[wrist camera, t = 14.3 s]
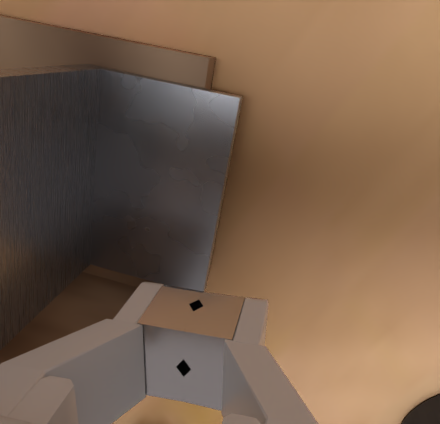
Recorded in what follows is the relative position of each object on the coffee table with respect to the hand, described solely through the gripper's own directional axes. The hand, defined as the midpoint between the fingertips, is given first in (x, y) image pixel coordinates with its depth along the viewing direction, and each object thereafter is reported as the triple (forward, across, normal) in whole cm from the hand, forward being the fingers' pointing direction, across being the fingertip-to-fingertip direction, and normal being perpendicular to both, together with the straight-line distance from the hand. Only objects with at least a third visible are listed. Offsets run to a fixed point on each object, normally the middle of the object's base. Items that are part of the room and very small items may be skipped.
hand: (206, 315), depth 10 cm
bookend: (+7, +4, -1) cm, 8 cm away
